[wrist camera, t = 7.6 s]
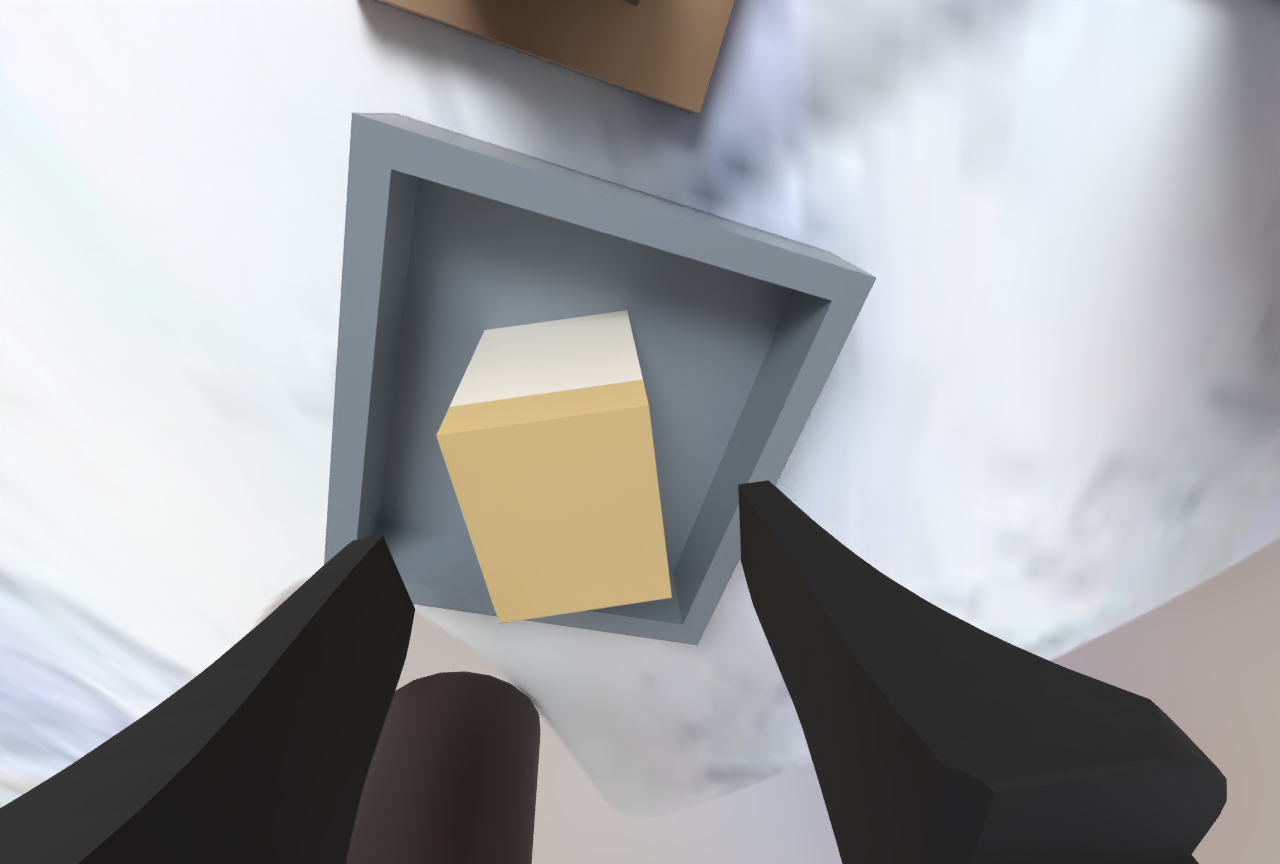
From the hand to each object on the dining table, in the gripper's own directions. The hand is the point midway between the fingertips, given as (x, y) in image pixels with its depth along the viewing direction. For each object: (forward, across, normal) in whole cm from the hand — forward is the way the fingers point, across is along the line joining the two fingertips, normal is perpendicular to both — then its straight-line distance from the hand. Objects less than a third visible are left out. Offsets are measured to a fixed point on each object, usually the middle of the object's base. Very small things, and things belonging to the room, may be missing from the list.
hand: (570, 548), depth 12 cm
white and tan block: (+6, 0, 0) cm, 6 cm away
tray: (+7, 0, 0) cm, 7 cm away
